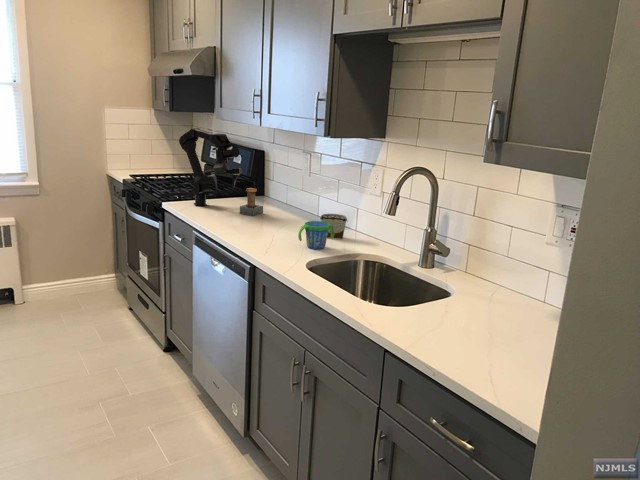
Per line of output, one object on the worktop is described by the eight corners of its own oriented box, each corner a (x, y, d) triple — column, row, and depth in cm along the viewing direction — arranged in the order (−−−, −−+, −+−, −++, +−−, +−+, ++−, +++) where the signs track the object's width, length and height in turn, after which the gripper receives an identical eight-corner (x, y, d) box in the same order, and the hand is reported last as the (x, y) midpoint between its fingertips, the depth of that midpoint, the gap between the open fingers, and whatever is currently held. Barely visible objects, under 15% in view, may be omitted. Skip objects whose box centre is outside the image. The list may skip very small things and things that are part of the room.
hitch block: (239, 213, 262) (239, 206, 261) (248, 211, 270) (248, 203, 269) (254, 216, 259) (254, 208, 258) (262, 213, 267) (263, 205, 266)
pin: (243, 213, 264) (244, 188, 260) (250, 211, 268) (251, 187, 265) (250, 215, 261) (251, 190, 257) (258, 213, 265) (259, 189, 261)
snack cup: (301, 251, 203) (303, 227, 200) (294, 244, 212) (295, 221, 210) (337, 250, 208) (339, 226, 205) (328, 243, 218) (330, 220, 215)
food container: (346, 236, 232) (348, 214, 229) (346, 239, 226) (347, 217, 223) (320, 233, 233) (321, 212, 230) (318, 237, 227) (320, 215, 224)
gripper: (198, 160, 255) (202, 190, 257) (234, 157, 252) (237, 188, 254) (206, 159, 265) (210, 189, 268) (241, 157, 263) (243, 187, 265)
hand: (225, 188), depth 264 cm, fingers open, 9 cm apart
